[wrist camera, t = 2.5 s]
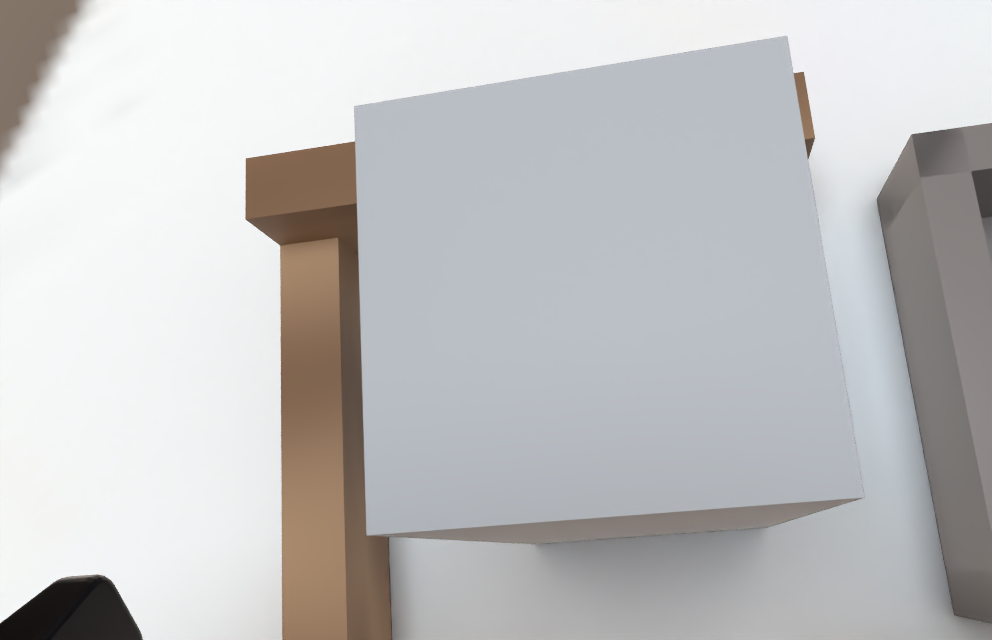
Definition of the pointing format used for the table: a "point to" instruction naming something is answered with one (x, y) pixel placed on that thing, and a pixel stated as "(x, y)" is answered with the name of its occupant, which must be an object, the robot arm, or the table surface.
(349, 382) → the walnut bracket
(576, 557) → the table surface
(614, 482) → the slate block
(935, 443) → the dark grey open box
